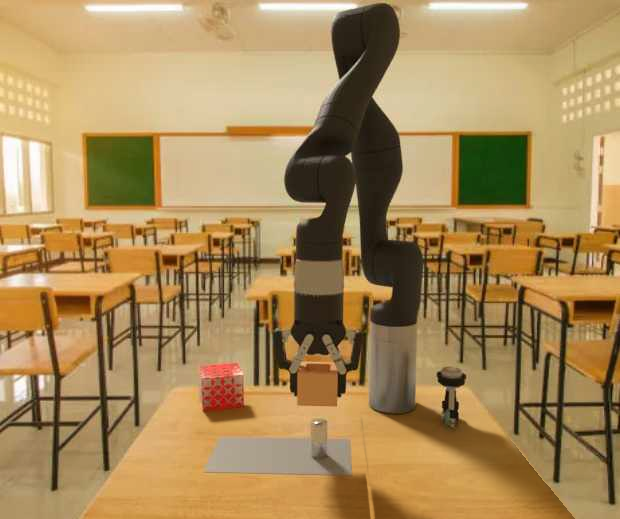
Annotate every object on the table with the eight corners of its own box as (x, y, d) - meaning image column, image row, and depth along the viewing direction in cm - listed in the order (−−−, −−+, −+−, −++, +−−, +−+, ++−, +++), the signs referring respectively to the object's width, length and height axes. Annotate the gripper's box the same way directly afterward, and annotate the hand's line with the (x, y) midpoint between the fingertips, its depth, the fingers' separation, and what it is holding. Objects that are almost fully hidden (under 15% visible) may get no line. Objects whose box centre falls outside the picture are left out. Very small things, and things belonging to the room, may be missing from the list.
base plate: (219, 444, 95) (219, 436, 95) (349, 447, 94) (349, 439, 94) (203, 481, 83) (203, 471, 83) (351, 484, 82) (351, 475, 82)
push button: (467, 431, 100) (469, 377, 99) (437, 429, 101) (439, 376, 100) (462, 416, 107) (464, 365, 106) (434, 414, 108) (435, 364, 106)
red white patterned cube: (199, 403, 114) (198, 365, 113) (238, 399, 116) (237, 362, 115) (202, 418, 106) (201, 378, 105) (244, 414, 108) (243, 374, 107)
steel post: (310, 460, 90) (311, 418, 89) (327, 460, 89) (327, 418, 89) (310, 468, 87) (310, 425, 86) (326, 468, 87) (327, 425, 86)
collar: (299, 391, 90) (300, 361, 89) (337, 392, 90) (337, 362, 89) (297, 405, 84) (297, 373, 83) (337, 406, 84) (337, 374, 83)
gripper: (365, 285, 88) (363, 388, 90) (274, 283, 89) (274, 386, 91) (367, 293, 81) (365, 405, 83) (268, 291, 81) (268, 403, 83)
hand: (317, 394), depth 87 cm, fingers closed on collar, 6 cm apart
